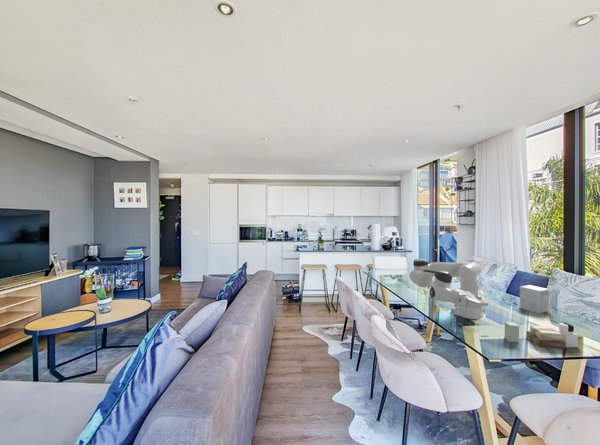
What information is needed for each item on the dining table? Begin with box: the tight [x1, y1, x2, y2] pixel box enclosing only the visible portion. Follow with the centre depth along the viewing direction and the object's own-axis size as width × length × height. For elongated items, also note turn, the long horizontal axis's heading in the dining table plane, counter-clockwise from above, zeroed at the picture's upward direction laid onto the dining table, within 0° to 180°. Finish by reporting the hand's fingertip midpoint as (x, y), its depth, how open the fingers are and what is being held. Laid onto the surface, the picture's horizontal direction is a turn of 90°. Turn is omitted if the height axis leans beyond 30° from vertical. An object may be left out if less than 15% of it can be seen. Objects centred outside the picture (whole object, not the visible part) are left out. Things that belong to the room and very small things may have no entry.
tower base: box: [525, 330, 566, 350], centre depth 155 cm, size 12×12×4 cm
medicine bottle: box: [555, 322, 579, 348], centre depth 154 cm, size 7×7×12 cm
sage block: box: [504, 321, 520, 343], centre depth 159 cm, size 5×5×10 cm
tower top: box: [529, 324, 562, 341], centre depth 155 cm, size 10×10×4 cm
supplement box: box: [519, 284, 550, 314], centre depth 208 cm, size 13×13×18 cm
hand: (484, 301), depth 161 cm, fingers open, 8 cm apart
